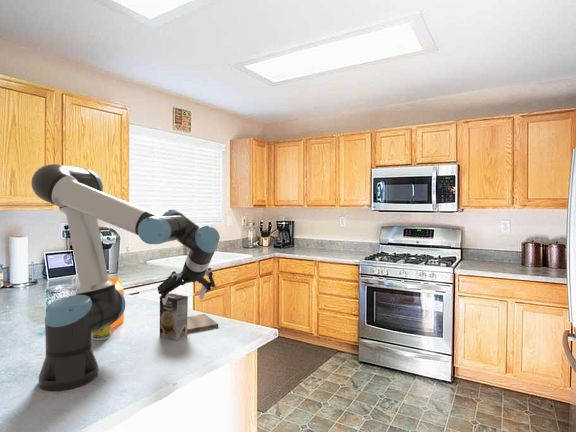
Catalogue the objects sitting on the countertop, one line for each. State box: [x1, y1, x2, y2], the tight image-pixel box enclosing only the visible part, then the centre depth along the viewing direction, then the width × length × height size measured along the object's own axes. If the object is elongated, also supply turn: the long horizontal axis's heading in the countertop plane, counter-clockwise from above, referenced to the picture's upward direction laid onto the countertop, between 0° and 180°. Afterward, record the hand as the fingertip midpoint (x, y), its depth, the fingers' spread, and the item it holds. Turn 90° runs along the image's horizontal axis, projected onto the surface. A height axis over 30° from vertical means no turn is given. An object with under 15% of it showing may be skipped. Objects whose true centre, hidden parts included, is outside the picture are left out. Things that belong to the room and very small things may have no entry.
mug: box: [71, 273, 80, 289], centre depth 220 cm, size 9×12×11 cm
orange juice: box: [108, 277, 125, 328], centre depth 157 cm, size 8×9×20 cm
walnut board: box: [187, 313, 219, 334], centre depth 156 cm, size 16×16×2 cm
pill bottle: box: [92, 326, 111, 341], centre depth 140 cm, size 6×6×11 cm
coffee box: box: [159, 293, 189, 342], centre depth 142 cm, size 9×6×16 cm
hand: (182, 298), depth 133 cm, fingers open, 13 cm apart
